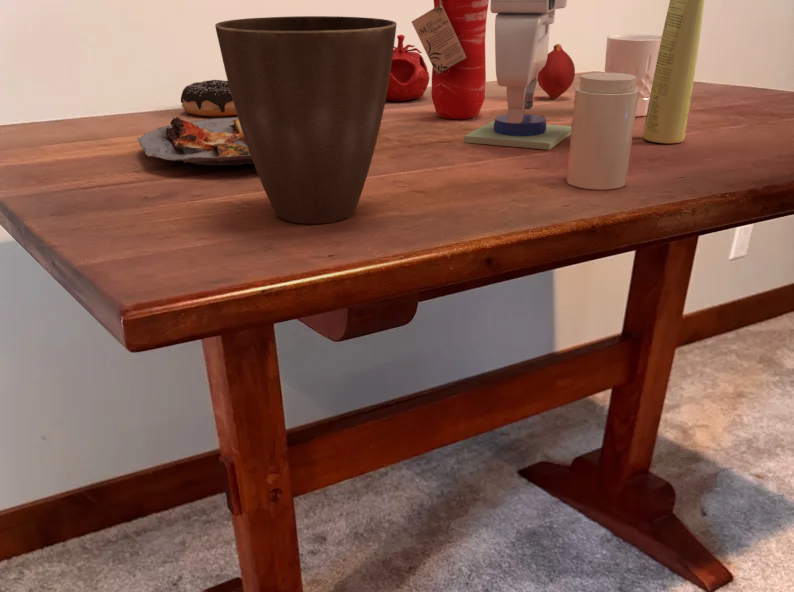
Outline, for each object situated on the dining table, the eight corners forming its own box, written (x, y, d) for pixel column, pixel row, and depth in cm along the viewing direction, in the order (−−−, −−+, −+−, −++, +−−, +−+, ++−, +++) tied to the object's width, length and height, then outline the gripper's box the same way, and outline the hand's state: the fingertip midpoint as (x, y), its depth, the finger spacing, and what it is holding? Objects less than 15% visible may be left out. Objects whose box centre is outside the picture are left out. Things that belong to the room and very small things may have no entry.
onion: (539, 95, 130) (543, 41, 126) (575, 96, 128) (580, 42, 124) (531, 100, 125) (535, 45, 121) (568, 102, 123) (574, 46, 119)
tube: (696, 140, 99) (728, -40, 89) (676, 147, 96) (707, -39, 86) (654, 134, 102) (680, -41, 92) (634, 140, 99) (659, -40, 89)
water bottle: (444, 127, 107) (449, -91, 95) (401, 120, 112) (401, -89, 100) (499, 115, 115) (511, -89, 102) (457, 108, 120) (463, -87, 107)
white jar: (631, 178, 83) (646, 73, 78) (619, 192, 79) (633, 82, 74) (574, 172, 86) (585, 70, 81) (559, 186, 81) (569, 78, 76)
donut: (171, 117, 116) (167, 88, 114) (202, 103, 126) (199, 76, 124) (244, 119, 114) (241, 89, 112) (269, 105, 125) (267, 77, 123)
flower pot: (354, 184, 83) (348, 12, 75) (427, 221, 71) (430, 23, 63) (214, 204, 77) (192, 20, 69) (270, 248, 65) (251, 34, 57)
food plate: (132, 140, 103) (127, 112, 101) (306, 126, 110) (305, 98, 108) (156, 187, 82) (150, 152, 81) (368, 165, 89) (367, 133, 88)
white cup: (666, 114, 114) (678, 37, 109) (625, 120, 111) (636, 41, 106) (627, 106, 120) (636, 33, 115) (587, 111, 117) (595, 36, 112)
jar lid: (486, 133, 100) (487, 121, 99) (503, 124, 105) (504, 112, 104) (537, 138, 97) (538, 125, 97) (551, 128, 102) (552, 116, 102)
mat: (573, 132, 104) (573, 126, 103) (549, 150, 95) (550, 143, 95) (493, 126, 108) (493, 120, 108) (463, 142, 99) (463, 135, 99)
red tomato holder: (354, 98, 129) (352, 35, 124) (400, 91, 134) (400, 30, 130) (396, 106, 122) (396, 39, 117) (442, 98, 128) (443, 34, 123)
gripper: (515, -14, 103) (508, 100, 110) (488, -4, 86) (481, 129, 93) (564, -13, 101) (554, 102, 108) (547, -4, 84) (536, 132, 91)
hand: (520, 115), depth 100 cm, fingers open, 8 cm apart
